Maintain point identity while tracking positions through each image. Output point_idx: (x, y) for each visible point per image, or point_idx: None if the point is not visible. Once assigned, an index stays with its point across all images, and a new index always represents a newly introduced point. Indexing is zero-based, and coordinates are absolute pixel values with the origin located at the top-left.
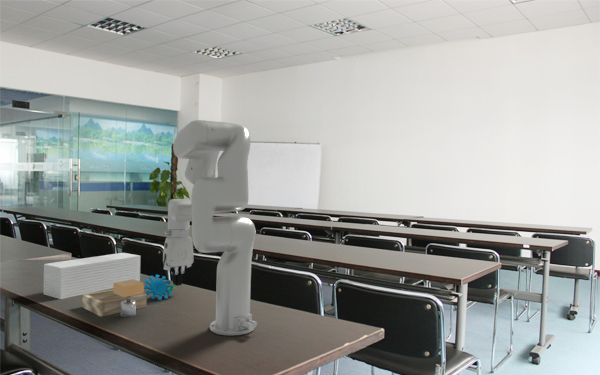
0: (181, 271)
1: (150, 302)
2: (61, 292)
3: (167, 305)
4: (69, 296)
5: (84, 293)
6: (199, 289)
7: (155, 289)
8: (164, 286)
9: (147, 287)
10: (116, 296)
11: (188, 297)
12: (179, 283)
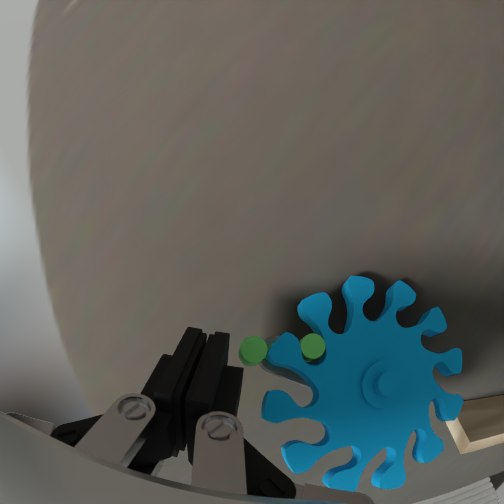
0: (146, 420)
1: (452, 292)
2: (492, 489)
3: (445, 154)
4: (470, 486)
5: (430, 499)
6: (60, 300)
7: (413, 366)
8: (342, 372)
9: (451, 395)
10: (497, 411)
11: (212, 200)
12: (207, 340)
